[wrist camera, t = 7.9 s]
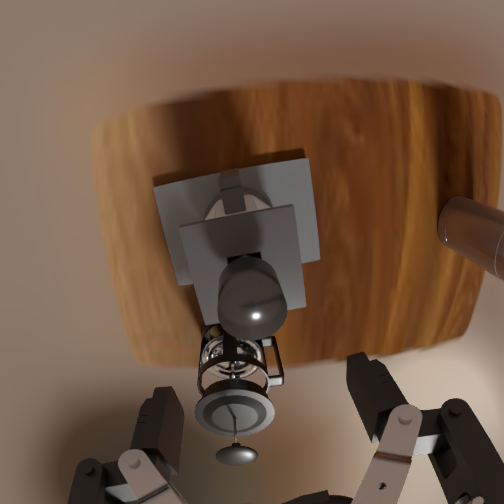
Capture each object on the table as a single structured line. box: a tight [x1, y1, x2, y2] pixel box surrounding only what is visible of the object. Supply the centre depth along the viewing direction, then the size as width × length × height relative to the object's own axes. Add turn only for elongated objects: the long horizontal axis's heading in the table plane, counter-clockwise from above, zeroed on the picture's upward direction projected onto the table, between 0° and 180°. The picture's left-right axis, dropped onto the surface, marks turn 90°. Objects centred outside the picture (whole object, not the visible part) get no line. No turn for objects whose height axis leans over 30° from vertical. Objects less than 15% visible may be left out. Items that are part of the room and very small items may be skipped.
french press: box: [195, 322, 284, 466], centre depth 35 cm, size 12×9×23 cm
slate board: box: [153, 158, 320, 286], centre depth 39 cm, size 20×14×1 cm
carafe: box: [179, 168, 306, 325], centre depth 31 cm, size 9×12×15 cm
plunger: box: [217, 253, 287, 340], centre depth 26 cm, size 4×4×15 cm
